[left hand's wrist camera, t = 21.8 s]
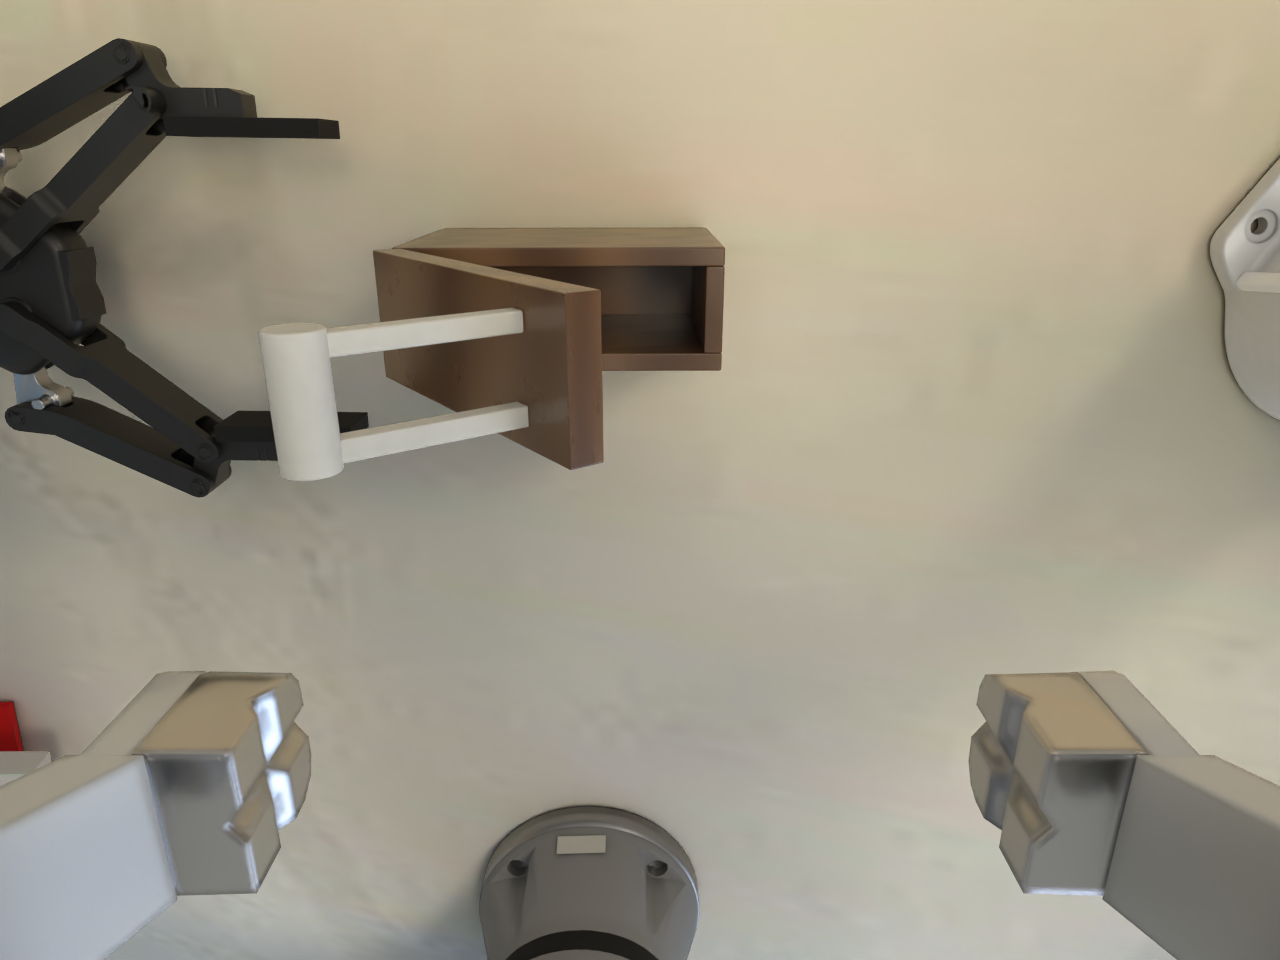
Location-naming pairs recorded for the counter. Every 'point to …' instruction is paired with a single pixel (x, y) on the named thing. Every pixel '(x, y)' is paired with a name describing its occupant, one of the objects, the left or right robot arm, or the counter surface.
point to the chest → (617, 284)
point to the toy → (16, 748)
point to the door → (447, 366)
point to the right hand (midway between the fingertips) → (346, 287)
